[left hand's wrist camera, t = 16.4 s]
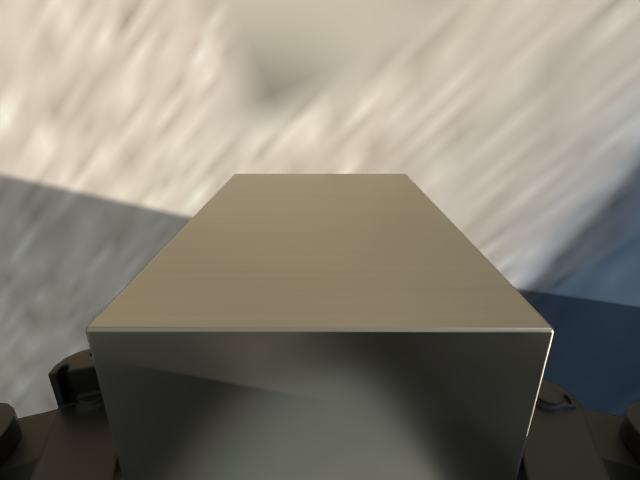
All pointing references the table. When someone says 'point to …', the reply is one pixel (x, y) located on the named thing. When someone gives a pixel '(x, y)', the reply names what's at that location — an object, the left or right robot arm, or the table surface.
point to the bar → (319, 342)
